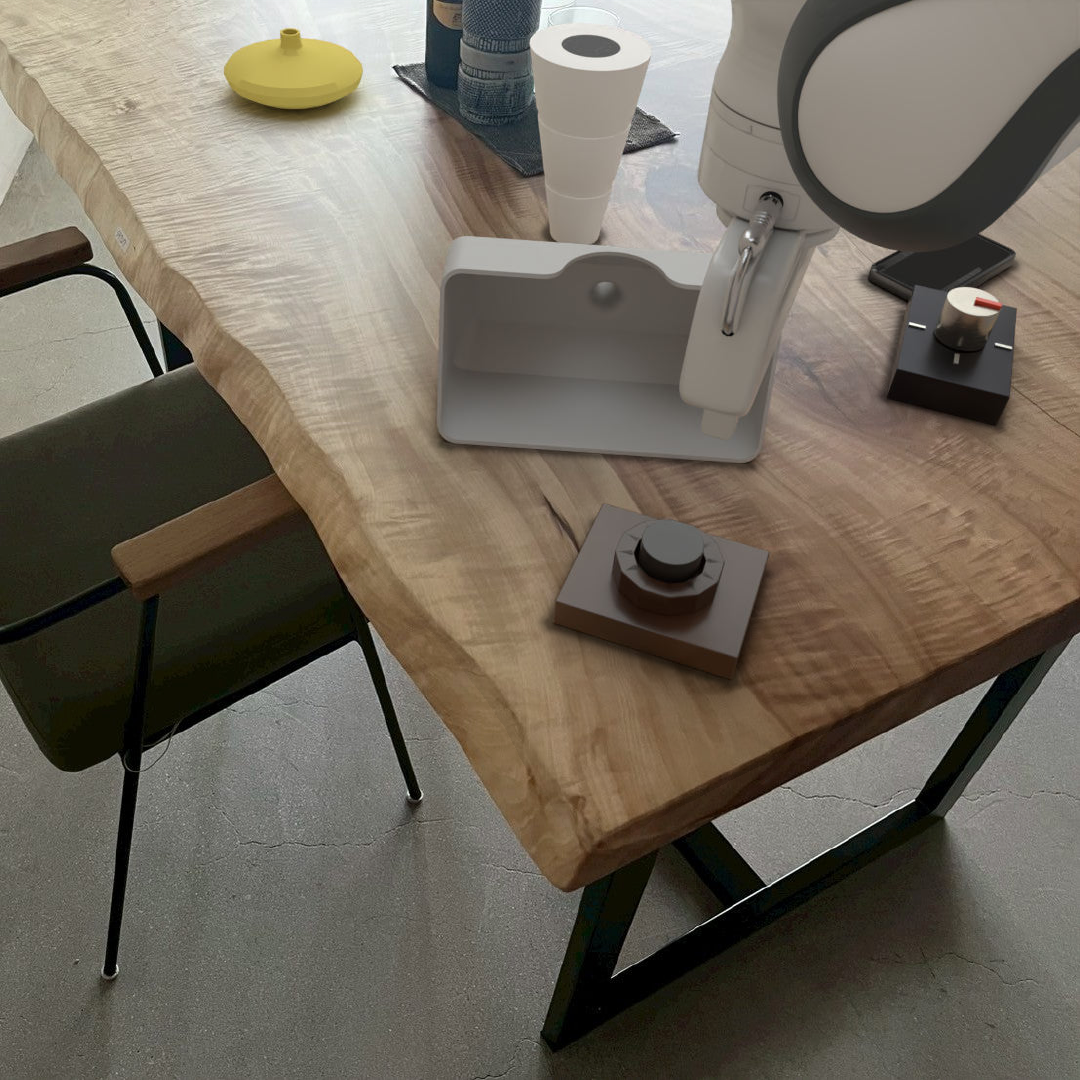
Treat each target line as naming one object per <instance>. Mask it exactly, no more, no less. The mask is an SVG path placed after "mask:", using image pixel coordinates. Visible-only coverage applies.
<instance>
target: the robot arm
mask: <svg viewBox="0 0 1080 1080" xmlns="http://www.w3.org/2000/svg"><path fill="white" fill-rule="evenodd" d="M730 5H731V27H730V32H729V37H728V40H727V44H726V46H725V49H724V52H723V54H722V55H721V58H720V60H719V62H718V64H717V66H716V68H715V71H714V76H713V81H712V86H711V91H710V98H709V103H708V109H707V115H706V122H705V127H704V133H703V138H702V144H701V150H700V156H699V162H698V167H697V182H698V185H699V187H700V189H701V191H702V192H703V193H704V195H705V196H706V197H707V198H708V199H709V200H710V201H712V203H714V204H715V205H716V207H715V211H716V215H717V218H718V219H719V221H720V222H721V224H722V225H724V227H725V228H726V229H725V231H724V233H723V235H722V237H721V239H720V241H719V243H718V245H717V247H716V248H715V250H714V252H713V253H714V254H713V256H712V258H711V261H710V263H709V266H708V269H707V272H706V274H705V277H704V281H703V284H702V287H701V290H700V294H699V297H698V301H697V305H696V309H695V314H694V318H693V322H692V327H691V331H690V335H689V340H688V344H687V349H686V354H685V358H684V363H683V367H682V372H681V377H680V384H679V391H680V396H681V399H682V400H683V401H684V402H685V403H687V404H689V405H692V406H695V407H698V408H702V409H704V412H703V417H702V422H701V427H700V428H701V431H702V432H703V433H704V434H705V435H708V436H711V437H715V438H718V439H722V440H728V439H730V438H731V437H732V435H733V433H734V430H735V428H736V425H737V422H738V419H739V417H743V416H745V415H746V414H747V413H748V412H749V410H750V409H751V406H752V404H753V402H754V400H755V397H756V395H757V392H758V390H759V387H760V385H761V382H762V380H763V377H764V375H765V372H766V370H767V367H768V365H769V362H770V360H771V357H772V355H773V353H774V350H775V348H776V345H777V343H778V340H779V338H780V335H781V336H782V334H781V333H783V330H784V328H785V325H786V323H787V320H788V318H789V314H790V313H791V310H792V308H793V306H794V304H795V303H794V302H795V300H796V298H797V295H798V293H799V290H800V288H801V285H802V282H803V280H804V277H805V275H806V273H807V270H808V268H809V265H810V263H811V261H812V257H813V255H814V252H815V251H816V247H818V246H820V245H823V244H826V243H828V242H829V241H831V240H833V239H834V238H835V237H836V236H837V235H838V234H839V231H840V228H842V229H843V230H845V231H846V232H848V233H850V234H851V235H853V236H855V237H856V238H858V239H860V240H863V241H864V242H866V243H869V244H872V245H873V246H877V247H880V248H883V249H887V250H891V251H895V252H896V251H904V252H928V251H935V250H940V249H945V248H948V247H952V246H954V245H957V244H960V243H962V242H964V241H966V240H969V239H971V238H972V237H974V236H976V235H978V234H981V233H982V232H984V231H985V230H987V229H988V228H989V227H990V226H991V225H993V224H994V223H996V222H997V220H998V219H1000V218H1001V217H1002V216H1003V215H1004V214H1005V213H1006V212H1008V210H1010V209H1011V207H1013V205H1014V204H1016V203H1017V202H1018V201H1019V200H1020V199H1021V198H1022V197H1024V195H1026V193H1027V192H1029V190H1030V189H1031V188H1032V187H1033V185H1034V184H1035V183H1036V182H1037V181H1039V180H1040V179H1041V178H1042V177H1044V176H1045V175H1046V174H1047V173H1049V172H1050V171H1051V170H1052V169H1054V168H1055V167H1056V166H1057V165H1059V164H1060V163H1061V162H1062V161H1064V160H1065V159H1066V158H1068V157H1069V156H1071V154H1073V153H1074V152H1075V151H1076V150H1078V149H1079V148H1080V0H730Z"/></svg>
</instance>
